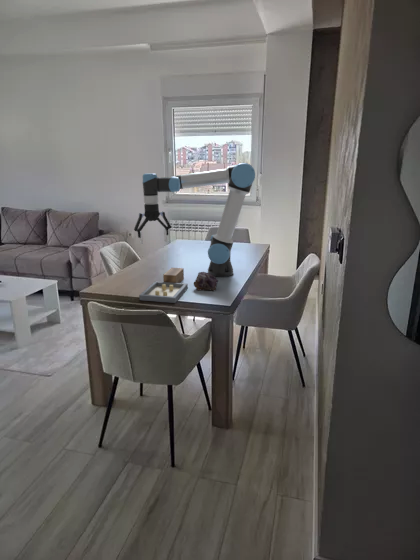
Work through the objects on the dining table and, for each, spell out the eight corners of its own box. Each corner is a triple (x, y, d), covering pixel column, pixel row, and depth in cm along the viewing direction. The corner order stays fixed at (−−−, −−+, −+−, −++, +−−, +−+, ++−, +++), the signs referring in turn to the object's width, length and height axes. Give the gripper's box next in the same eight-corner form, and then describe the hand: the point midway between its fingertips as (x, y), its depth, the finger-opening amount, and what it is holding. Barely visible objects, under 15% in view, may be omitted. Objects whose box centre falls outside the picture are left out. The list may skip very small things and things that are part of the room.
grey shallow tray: (187, 288, 200) (187, 282, 199) (175, 302, 180) (175, 296, 179) (155, 285, 204) (155, 280, 203) (139, 300, 183) (139, 294, 182)
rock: (212, 295, 194) (218, 288, 203) (215, 279, 190) (221, 273, 199) (191, 289, 196) (198, 283, 205) (193, 274, 193) (200, 268, 202)
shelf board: (183, 279, 216) (183, 268, 214) (176, 287, 203) (175, 275, 201) (172, 278, 217) (171, 267, 215) (163, 286, 204) (163, 274, 202)
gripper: (171, 201, 211) (173, 239, 217) (126, 204, 202) (129, 243, 209) (175, 202, 204) (177, 241, 211) (129, 205, 196) (132, 245, 202)
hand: (153, 242), depth 210 cm, fingers open, 13 cm apart
